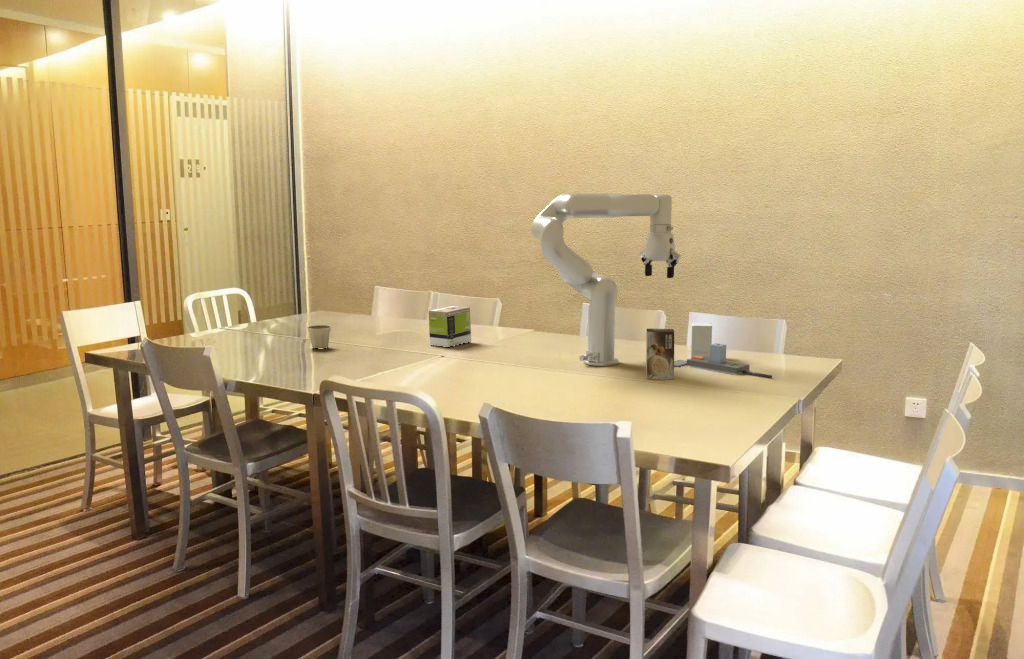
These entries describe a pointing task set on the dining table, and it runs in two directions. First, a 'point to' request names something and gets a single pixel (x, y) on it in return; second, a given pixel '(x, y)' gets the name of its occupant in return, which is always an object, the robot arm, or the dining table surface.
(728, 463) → the dining table surface
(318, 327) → the flower pot
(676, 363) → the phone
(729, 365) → the power strip
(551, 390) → the dining table surface
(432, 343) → the tea box
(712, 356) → the block
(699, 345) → the supplement box
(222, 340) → the dining table surface
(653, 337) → the coffee box
